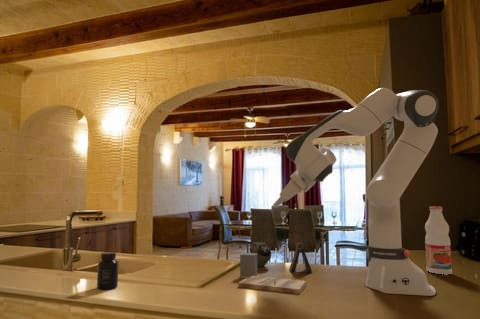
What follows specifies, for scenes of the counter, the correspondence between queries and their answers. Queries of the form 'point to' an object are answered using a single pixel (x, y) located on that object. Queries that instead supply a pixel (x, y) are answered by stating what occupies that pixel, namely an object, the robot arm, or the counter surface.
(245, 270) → the sanding block
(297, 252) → the dark brown triangular frame
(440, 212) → the fruit juice
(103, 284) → the supplement bottle
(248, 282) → the board
